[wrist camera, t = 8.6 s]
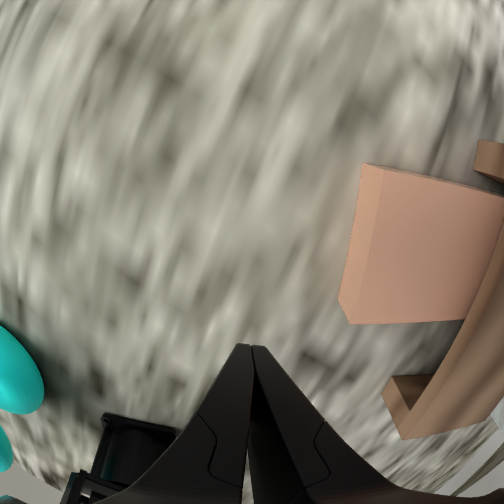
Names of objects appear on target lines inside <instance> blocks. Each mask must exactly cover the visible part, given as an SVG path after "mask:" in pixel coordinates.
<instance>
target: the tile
mask: <svg viewBox="0 0 504 504" xmlns="http://www.w3.org/2000/svg"><path fill="white" fill-rule="evenodd" d="M503 223H504V195H500V194H497V193H494V192H490V191H487V190H483V189H480V188H476V187H472V186H469V185H465V184H461V183H457V182H453V181H449V180H445V179H441V178H437V177H432V176H428V175H423V174H419V173H414V172H409V171H404V170H399V169H394V168H389V167H384V166H378V165H372V164H367V163H363V165H362V172H361V179H360V186H359V192H358V199H357V205H356V211H355V216H354V222H353V228H352V233H351V238H350V244H349V249H348V254H347V259H346V263H345V268H344V273H343V277H342V282H341V286H340V291H339V295H338V299H337V300H338V302H339V304H340V306H341V308H342V310H343V312H344V313H345V315H346V317H347V319H348V321H349V323H350V324H390V323H414V322H432V321H447V320H460V319H466V317H467V315H468V313H469V311H470V309H471V306H472V304H473V302H474V300H475V298H476V295H477V293H478V291H479V289H480V286H481V284H482V281H483V279H484V277H485V274H486V272H487V269H488V267H489V264H490V261H491V259H492V256H493V253H494V250H495V247H496V245H497V242H498V239H499V236H500V232H501V229H502V226H503Z"/></svg>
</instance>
